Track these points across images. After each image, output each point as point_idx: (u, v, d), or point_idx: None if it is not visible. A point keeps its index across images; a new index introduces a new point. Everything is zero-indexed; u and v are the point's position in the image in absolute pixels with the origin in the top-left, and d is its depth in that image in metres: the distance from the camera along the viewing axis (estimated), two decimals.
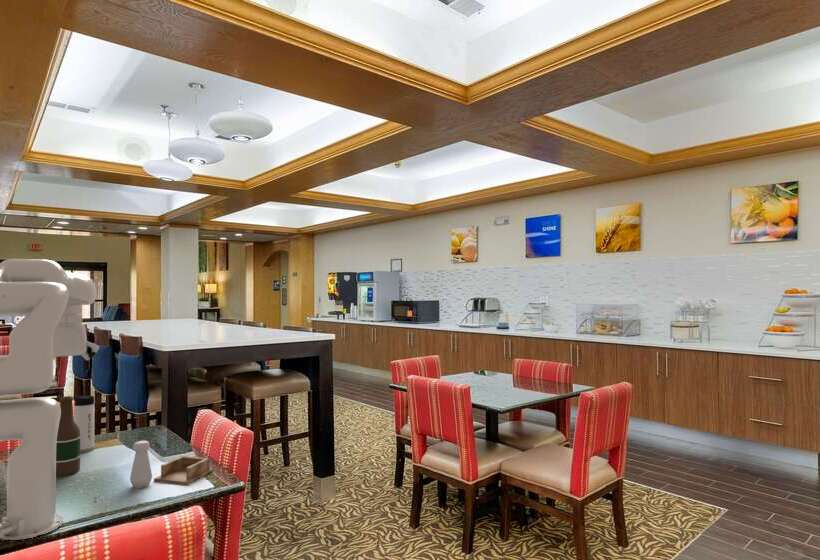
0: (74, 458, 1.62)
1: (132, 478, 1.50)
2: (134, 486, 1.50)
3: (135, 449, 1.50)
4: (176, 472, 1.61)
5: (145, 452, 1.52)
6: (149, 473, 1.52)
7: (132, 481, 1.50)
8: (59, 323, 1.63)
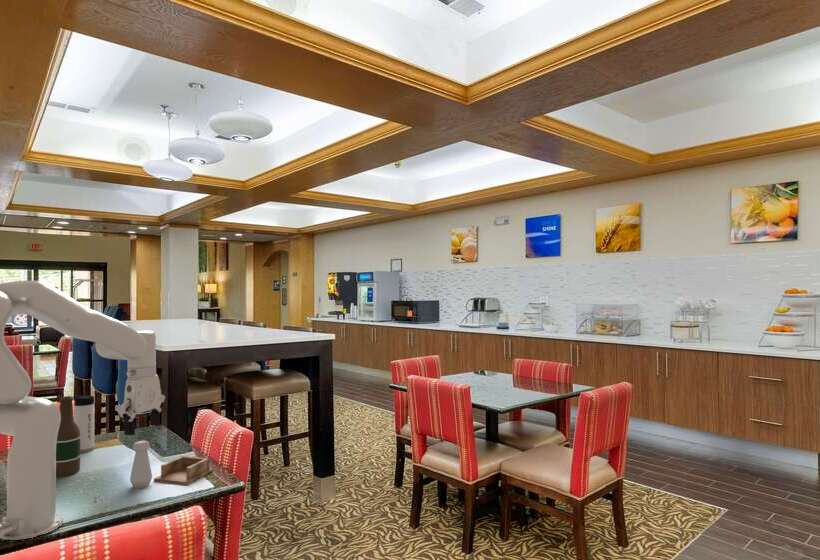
0: (74, 458, 1.62)
1: (132, 478, 1.50)
2: (134, 486, 1.50)
3: (135, 449, 1.50)
4: (176, 472, 1.61)
5: (145, 452, 1.52)
6: (149, 473, 1.52)
7: (132, 481, 1.50)
8: (146, 376, 1.50)
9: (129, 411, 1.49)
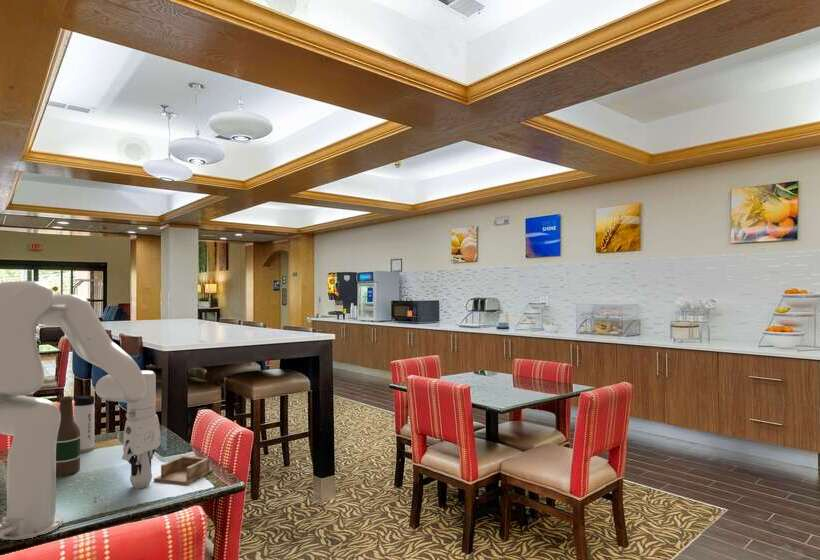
0: (74, 458, 1.62)
1: (132, 478, 1.50)
2: (134, 486, 1.50)
3: None
4: (176, 472, 1.61)
5: None
6: (149, 473, 1.52)
7: (132, 481, 1.50)
8: (145, 417, 1.50)
9: (133, 455, 1.50)
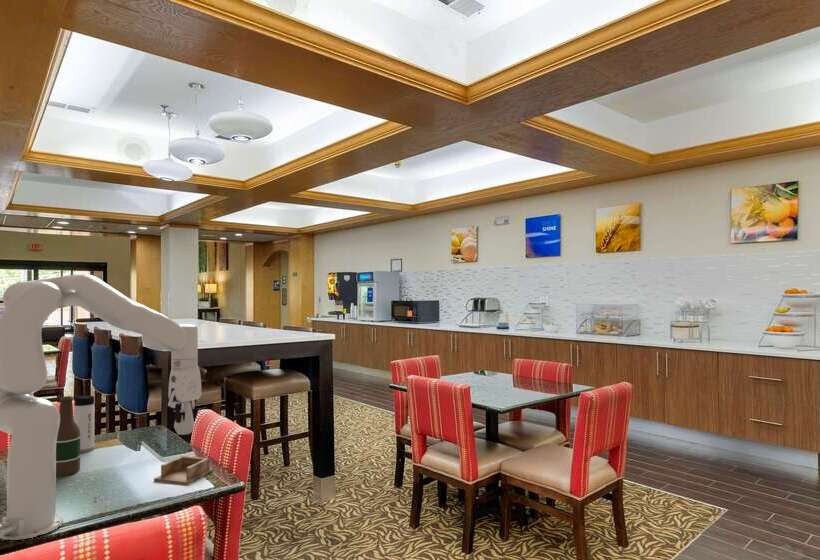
0: (74, 458, 1.63)
1: (176, 425, 1.58)
2: (178, 432, 1.58)
3: None
4: (176, 472, 1.61)
5: (188, 401, 1.60)
6: (192, 421, 1.60)
7: (176, 428, 1.58)
8: (189, 367, 1.58)
9: (177, 403, 1.58)
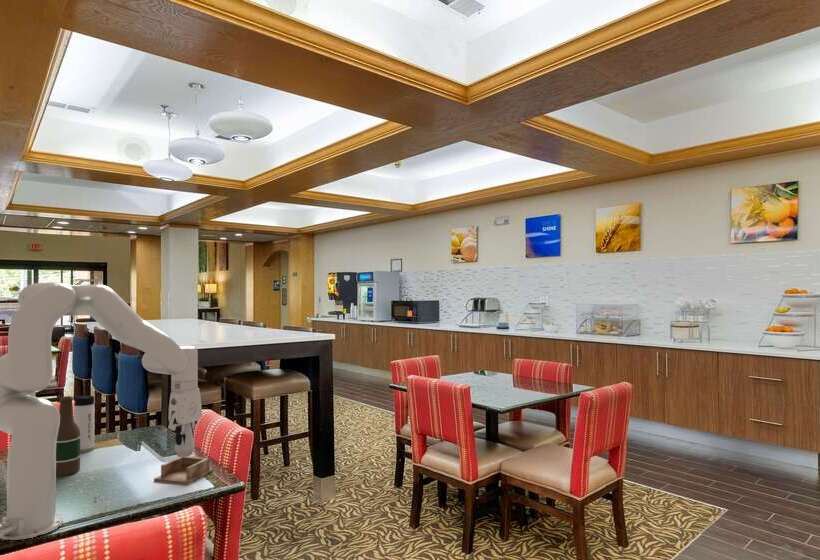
0: (74, 458, 1.62)
1: (176, 447, 1.58)
2: (178, 455, 1.58)
3: None
4: (176, 472, 1.61)
5: None
6: (192, 443, 1.60)
7: (177, 450, 1.58)
8: (189, 389, 1.58)
9: (177, 425, 1.58)
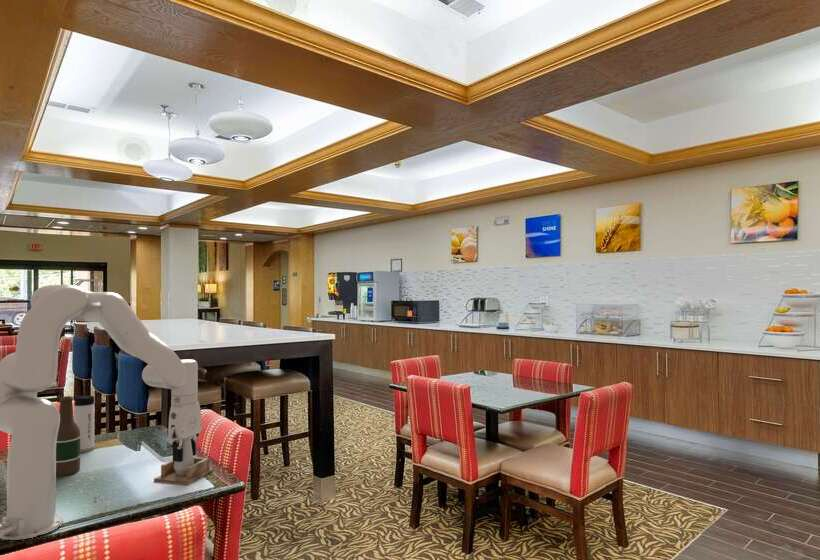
0: (74, 458, 1.62)
1: (176, 466, 1.57)
2: (177, 473, 1.58)
3: None
4: None
5: (189, 441, 1.59)
6: (192, 462, 1.59)
7: (176, 468, 1.57)
8: (189, 403, 1.58)
9: (175, 439, 1.57)
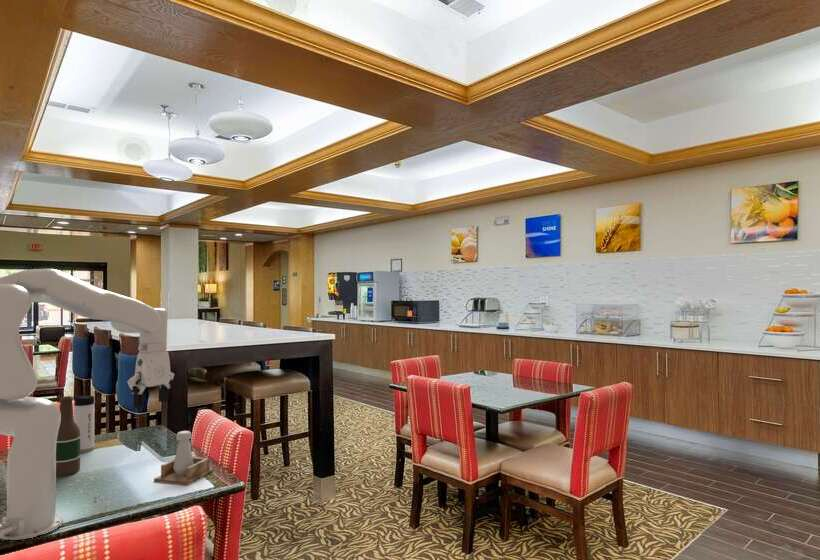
0: (74, 458, 1.62)
1: (175, 466, 1.57)
2: (177, 474, 1.58)
3: (178, 439, 1.58)
4: None
5: (187, 442, 1.59)
6: (191, 462, 1.59)
7: (175, 469, 1.57)
8: (156, 351, 1.55)
9: (139, 384, 1.53)
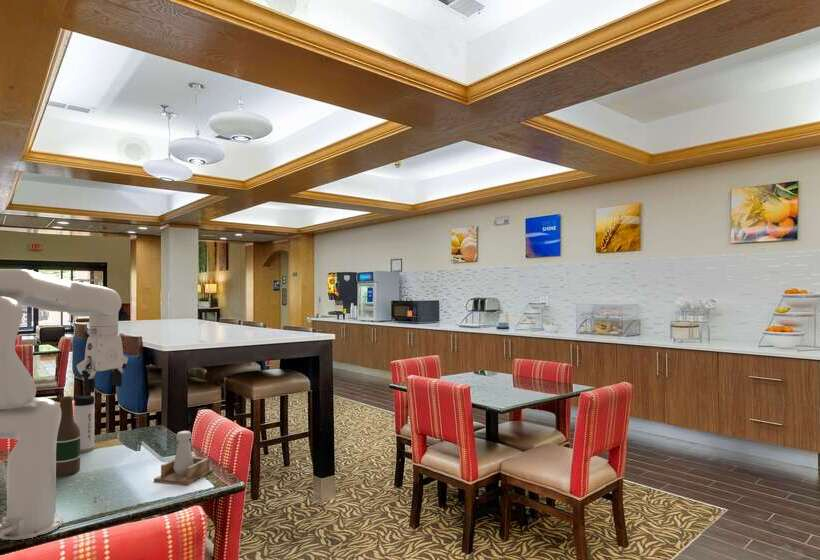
0: (74, 458, 1.62)
1: (175, 466, 1.57)
2: (177, 474, 1.58)
3: (178, 439, 1.58)
4: None
5: (187, 442, 1.59)
6: (191, 462, 1.59)
7: (175, 469, 1.57)
8: (107, 335, 1.52)
9: (89, 369, 1.50)
